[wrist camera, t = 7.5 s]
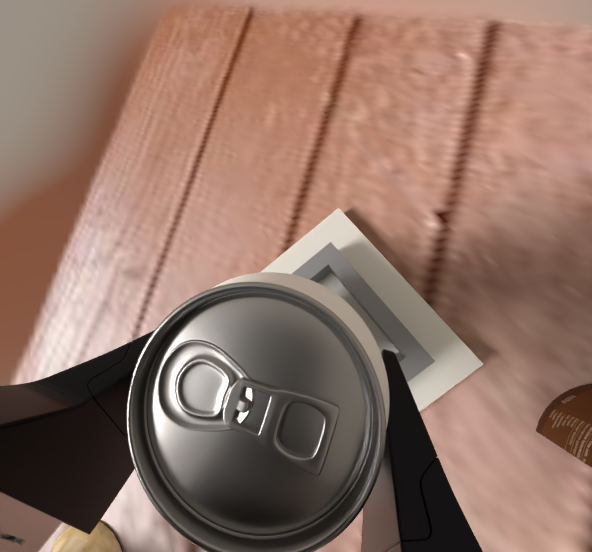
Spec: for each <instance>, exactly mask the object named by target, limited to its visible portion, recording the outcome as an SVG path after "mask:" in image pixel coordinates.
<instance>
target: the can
mask: <svg viewBox="0 0 592 552" xmlns="http://www.w3.org/2000/svg"><path fill="white" fill-rule="evenodd" d="M388 417H389V385H388V378H387V373H386V369H385V365H384V362H383V359H382V356H381V353H380V350H379V348H378V346H377V343H376V341H375V339H374V337H373V335H372V334H371V332H370V330H369V329H368V327H367V325H366V324H365V323H364V321H363V320H362V319H361V317H360V316H359V315H358V314H357V312H356V311H355V310H354V309H353V308H352V307H351V306H350V305H349V304H348V303H347V302H346V301H344V300H343V299H342V298H341V297H340V296H338V295H337V294H336V293H334V292H333V291H331V290H330V289H328V288H326V287H324V286H323V285H321V284H319V283H317V282H314V281H312V280H309V279H307V278H304V277H300V276H296V275H292V274H286V273H276V272H262V273H252V274H247V275H242V276H239V277H235V278H232V279H230V280H227V281H225V282H222V283H220V284H218V285H217V286H215V287H213V288H211V289H209V290H206V291H204V292H202V293H200V294H198V295H196V296H194V297H192V298H190V299H189V300H187V301H186V302H184V303H183V304H181V305H180V306H179V307H177V308H176V309H175V310H174V311H173V312H171V313H170V314H169V315H168V316H167V317H166V318H165V319H164V320H163V321H162V322H161V323H160V325H159V326H158V327H157V328H156V330H155V331H154V332H153V334H152V335H151V336H150V338H149V339H148V341H147V343H146V344H145V346H144V348H143V350H142V352H141V354H140V356H139V358H138V360H137V363H136V366H135V368H134V371H133V374H132V378H131V382H130V386H129V391H128V398H127V408H126V427H127V438H128V444H129V449H130V454H131V458H132V461H133V464H134V467H135V470H136V473H137V476H138V478H139V480H140V482H141V485H142V487H143V489H144V490H145V492H146V494H147V496H148V497H149V499H150V501H151V502H152V504H153V505H154V507H155V508H156V509H157V511H158V512H159V513H160V514H161V516H162V517H163V518H164V519H165V520H166V521H167V522H168V523H169V524H170V525H171V526H172V527H173V528H174V529H175V530H176V531H177V532H178V533H179V534H181V535H182V536H183V537H184V538H186V539H187V540H189V541H190V542H191V543H193V544H195V545H196V546H198V547H200V548H201V549H203V550H205V551H207V552H314V551H316V550H318V549H320V548H321V547H323V546H325V545H326V544H328V543H329V542H331V541H332V540H333V539H335V538H336V537H337V536H338V535H339V534H341V533H342V532H343V531H344V530H345V529H346V528H347V527H348V526H349V525H350V524H351V522H352V521H353V520H354V519H355V518H356V516H357V515H358V514H359V512H360V511H361V510H362V508H363V507H364V505H365V503H366V502H367V500H368V498H369V496H370V494H371V492H372V490H373V488H374V486H375V483H376V481H377V478H378V475H379V472H380V468H381V465H382V460H383V456H384V449H385V440H386V428H387V424H388Z"/></svg>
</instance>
